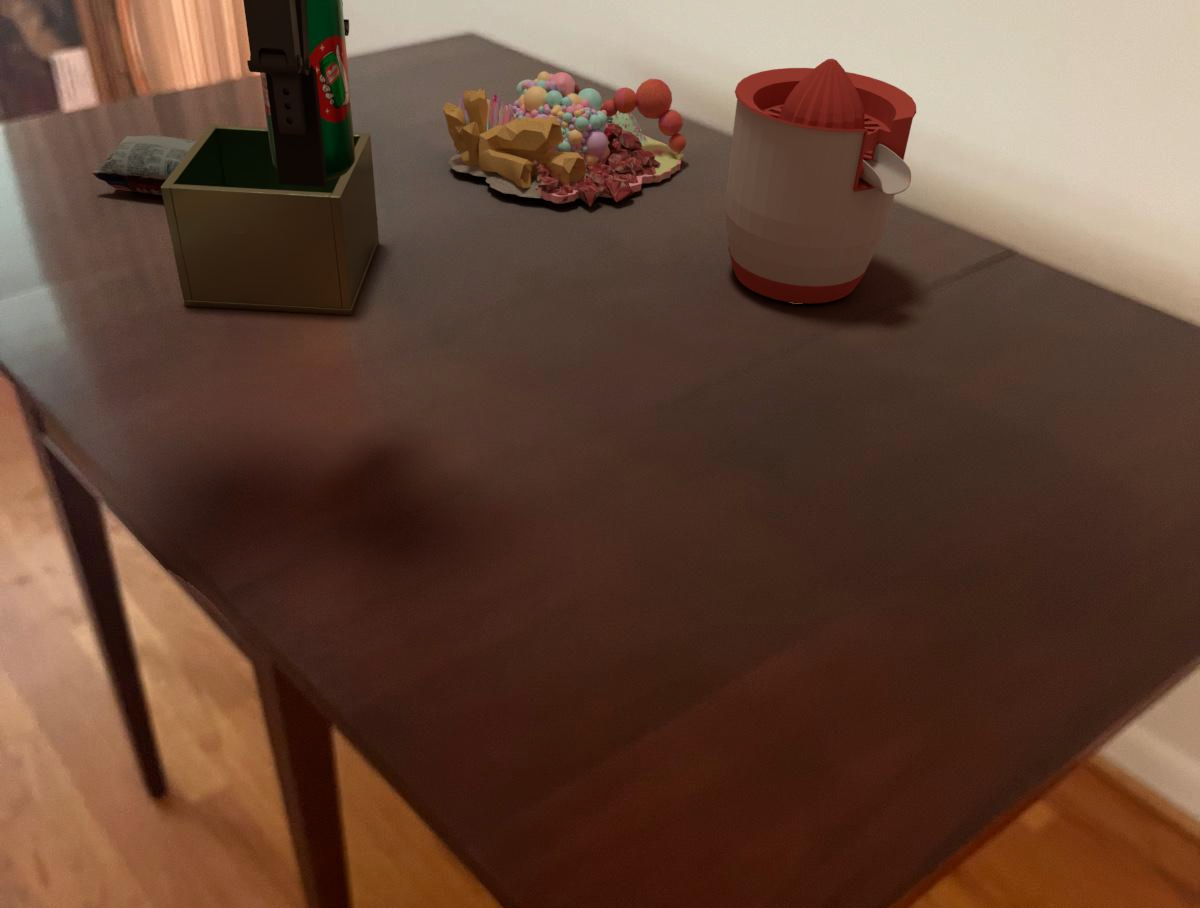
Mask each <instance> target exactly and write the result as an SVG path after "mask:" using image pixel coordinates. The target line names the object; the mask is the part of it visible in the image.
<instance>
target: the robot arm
mask: <svg viewBox="0 0 1200 908" xmlns="http://www.w3.org/2000/svg"><path fill="white" fill-rule="evenodd" d="M242 3H243V8H244V10H243V11H244V17H245V18H244V19H245V25H246V32H247V39H248V46H249V47H248V48H249V60H246V63H247V69H248V71H249V72H250V73H258V74H259V73H266V81H267V89H268V97H269V104H270V112H271V120H272V128H273V135H274V143H275V151H276V159H277V166H278V174H279V182H280V184H287V185H302V186H317V187H325V186H326V184H327V173H326V163H325V154H324V144H323V134H322V124H321V114H320V104H319V94H318V85H317V75H316V69H310V68H311V62H310V59H309V40H308V18H307V0H242ZM342 5H343V6H344V3H343V1H342ZM344 29H345V37H349V34H350V19H347V18H344Z"/></svg>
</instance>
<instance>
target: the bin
mask: <svg viewBox="0 0 1200 908" xmlns="http://www.w3.org/2000/svg"><path fill="white" fill-rule="evenodd" d="M353 136H354V148H355V162H354V164H353V165H352V167H351V168H350V169H349V171H348V172H347V173H346V174H344V175H342V176H340V177H338V178H335V179H331V180H327V184H326V186H325V187H317V186H302V185H287V184H280V182H279V174H278V169H277V168H276V167H275V166H274V164H273V163H272V158H271V151H270V143H269V135H268V128H267V126H265V127H264V126H248V125H247V126H245V125H232V124H230V125H229V124H211V123H210V124H208V126H207V127H206V128H205V129H204V130H203V132H202V134H200V136H199V137H198V138H197V140H195V141H196V142H195V144H194V145H193V146H192V147H191V149H190V150H189V151H188V153H187V154H186V155H185V156H184V158H183V159H182V160H181V162H180V163H179V164H178V165H177V167H176V168H175V169H174V171H173V172H172V173H171V174H170V176H169V177H168V178H167V180H166V181H165V182H164V183H163V185H162V186H161V192H162V195H161V197H162V200H163V201H162V202H163V206H164V211H165V216H166V221H167V226H168V231H169V236H170V241H171V245H172V251H173V255H174V261H175V265H176V271H177V275H178V281H179V285H180V290H181V294H182V299H183V305H184V307H191V308H192V307H195V308H209V309H210V308H213V309H230V310H231V309H232V310H249V311H267V312H268V311H269V312H282V313H283V312H286V313H302V314H305V313H306V314H319V315H320V314H321V315H323V314H324V315H336V316H337V315H338V316H339V315H340V316H353V313H354V309H355V307H356V306H357V302H358V299H359V297H360V294H361V291H362V289H363V288H364V287H363V286H364V284H365V282H366V279H367V277H368V274H369V271H370V268H371V266H372V264H373V261H374V258H375V255H376V253H377V250H378V248H379V246H380V239H379V226H378V215H377V212H378V211H377V200H376V187H375V186H376V185H375V174H374V163H373V150H372V149H373V148H372V138H371V133H370V132H369V133H368V132H354V131H353Z"/></svg>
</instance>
